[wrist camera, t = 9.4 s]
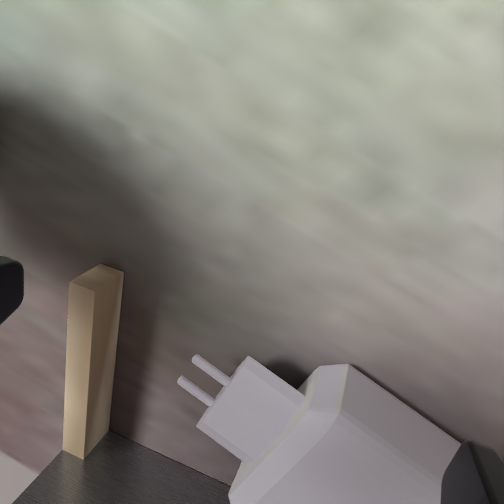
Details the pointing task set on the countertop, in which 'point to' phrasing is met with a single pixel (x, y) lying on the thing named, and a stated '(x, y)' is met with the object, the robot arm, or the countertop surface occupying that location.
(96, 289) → the guarded bay
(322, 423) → the charger
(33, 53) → the countertop surface
